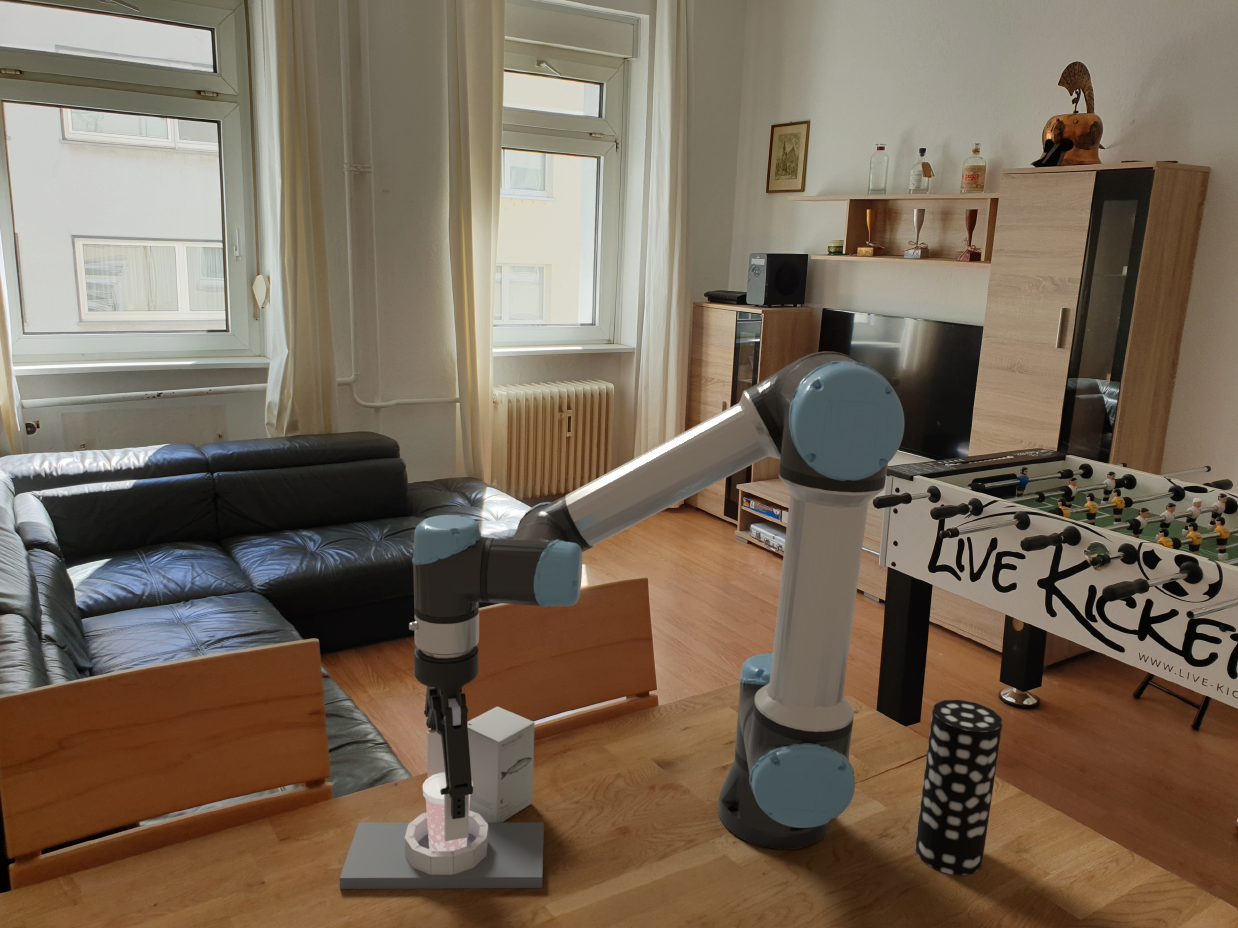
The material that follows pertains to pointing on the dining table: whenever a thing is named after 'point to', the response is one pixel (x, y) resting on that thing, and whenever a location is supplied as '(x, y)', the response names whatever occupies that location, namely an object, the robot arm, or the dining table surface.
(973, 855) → the spotted tube
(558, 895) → the dining table surface
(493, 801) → the supplement box
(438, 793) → the beverage cup
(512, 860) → the collar board
